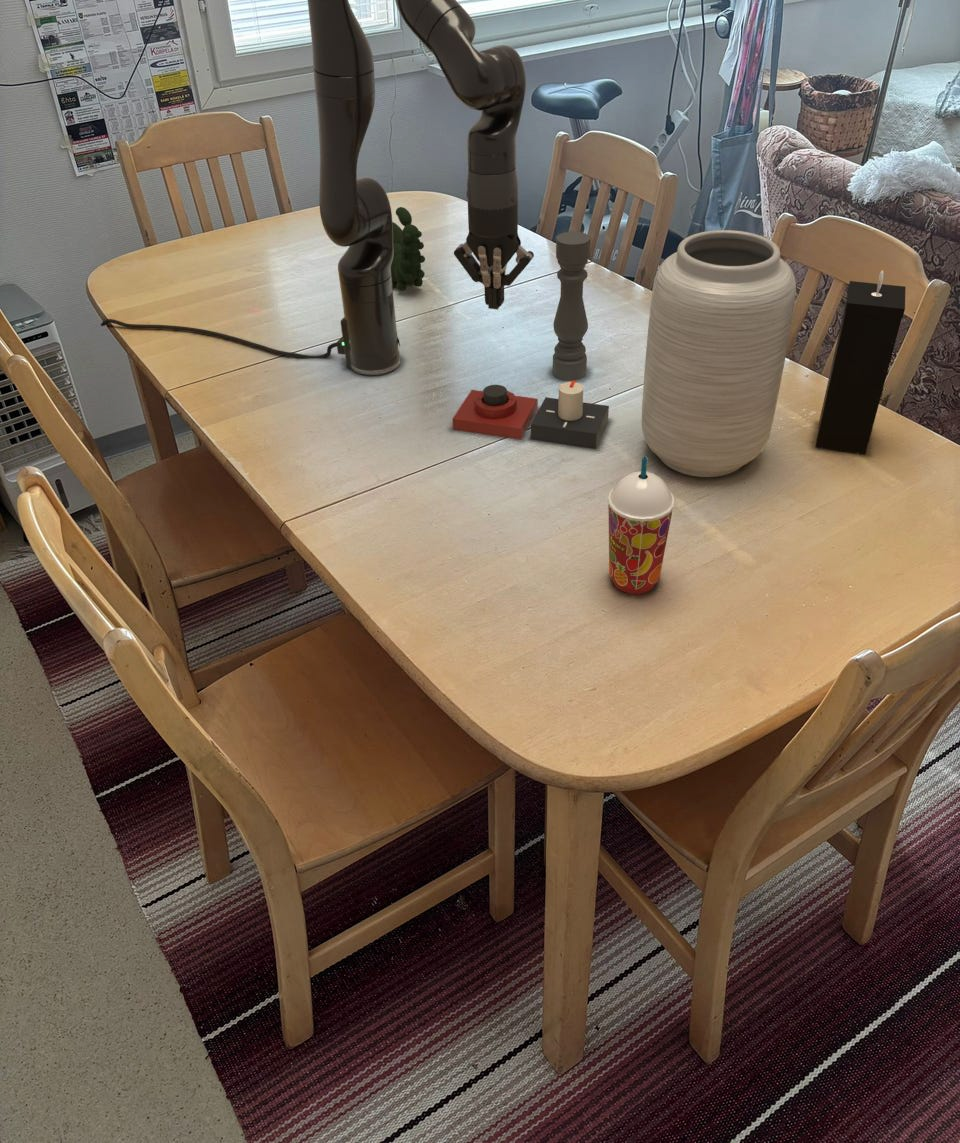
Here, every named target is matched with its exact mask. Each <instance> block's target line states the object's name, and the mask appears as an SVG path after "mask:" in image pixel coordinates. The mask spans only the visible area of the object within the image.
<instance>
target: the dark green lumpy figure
mask: <svg viewBox="0 0 960 1143" xmlns="http://www.w3.org/2000/svg"><path fill="white" fill-rule="evenodd" d="M395 215H396V216H397V218H398V221H399V223H400V224H401V225H402V226H403V228H401V226H399V225H398V224H397V222H394V221H392V225H393V249H394V255H393V261H392V264H391V278H392V288H393V289H394V288H397V290H398V291H401V292H402V291H405V290H406V289H407V286H410V285H413V286H415V287H417V288H419V287H422V286H423V282H424V281H423V278H424V277H425V275H426V274H425V272H424V270H423V269H422V264H423V263H425V261H426V257H425V256H424V255H423V254H422V253H421V251H420V250H423V249H424V247H425V244H424V242H422V241H421V240H420V238H421V237H422V236H423V233H422V231H421V230H420V229H419V228H418V227H417V226H416V225H414V224H412V222H413V218H412V214H411V213H410V211H409V210H408V209H407V208H406V207H403V206H400V207H397V208H396V209H395Z"/></svg>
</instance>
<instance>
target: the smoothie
mask: <svg viewBox="0 0 960 1143" xmlns="http://www.w3.org/2000/svg"><path fill="white" fill-rule="evenodd" d="M640 466H641V468H640V470H638V471H634V472H633V471H632V472H630V473H628V474H626V475H625V476H623V477H621V478H620V479H619V481H618V482H617V483H616V484H615V486H614V487H613V488H612V489H611V490H610V491H609V493H608V496H607V502H608V504H607V505H608V507H607V508H608V510H607V511H608V562H609V563H608V574H609V577H610V579H611V580H612V582H613V585H614V586H615V587H616V588H617V589H618V590H620V591H621V592H624V593H627V594H631V595H638V594H639V595H641V594H644V593H647V592H649V591H651V590H652V589H653V588H654V586H655V585H656V584H657V583H658V582H659V580H660V577H661V572H662V568H663V562H664V556H665V551H666V546H667V541H668V537H669V532H670V531H669V530H670V526H671V520H672V515H673V509H674V506H675V501H676V500H675V498H674V495H673V493H672V492H671V491H670V488H669V487H668V484H667V483H666V481H664V480H663V479H662V477H660V476H659V475H657V474H656V473H653V472H651V471H647V468H648V456H642V457H641V465H640Z"/></svg>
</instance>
